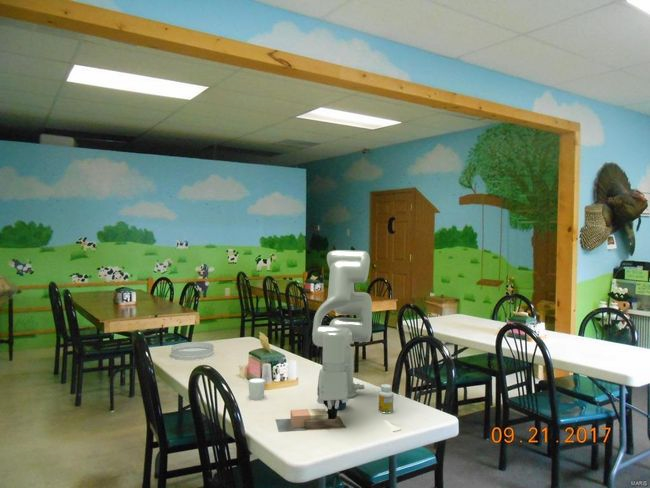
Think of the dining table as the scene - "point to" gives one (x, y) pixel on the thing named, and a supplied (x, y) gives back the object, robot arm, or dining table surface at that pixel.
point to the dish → (192, 350)
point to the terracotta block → (299, 417)
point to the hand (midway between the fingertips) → (332, 419)
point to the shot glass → (256, 388)
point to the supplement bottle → (386, 399)
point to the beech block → (318, 414)
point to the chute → (311, 424)
